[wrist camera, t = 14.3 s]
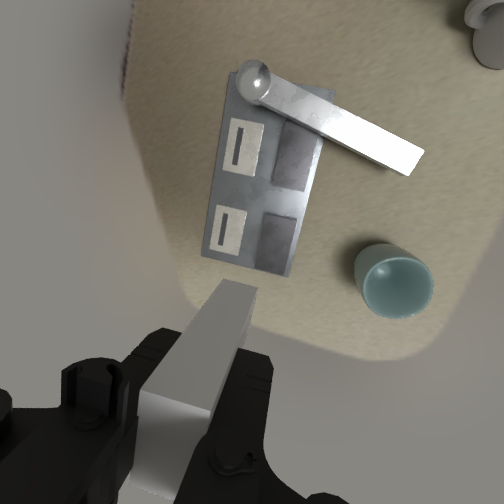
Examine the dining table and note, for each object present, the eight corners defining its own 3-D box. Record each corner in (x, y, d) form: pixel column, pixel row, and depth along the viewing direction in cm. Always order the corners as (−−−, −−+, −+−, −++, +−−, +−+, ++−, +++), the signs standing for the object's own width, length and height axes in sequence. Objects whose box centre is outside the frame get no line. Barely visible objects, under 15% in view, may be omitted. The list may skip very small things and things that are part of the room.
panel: (232, 74, 39) (224, 63, 35) (334, 93, 38) (338, 83, 34) (203, 253, 47) (194, 261, 43) (288, 274, 45) (287, 284, 41)
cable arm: (235, 96, 36) (229, 90, 33) (248, 62, 35) (244, 53, 32) (398, 179, 35) (406, 179, 33) (418, 148, 34) (428, 145, 31)
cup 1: (350, 290, 44) (363, 321, 35) (347, 240, 43) (360, 259, 33) (405, 286, 43) (434, 318, 33) (404, 234, 41) (435, 253, 32)
